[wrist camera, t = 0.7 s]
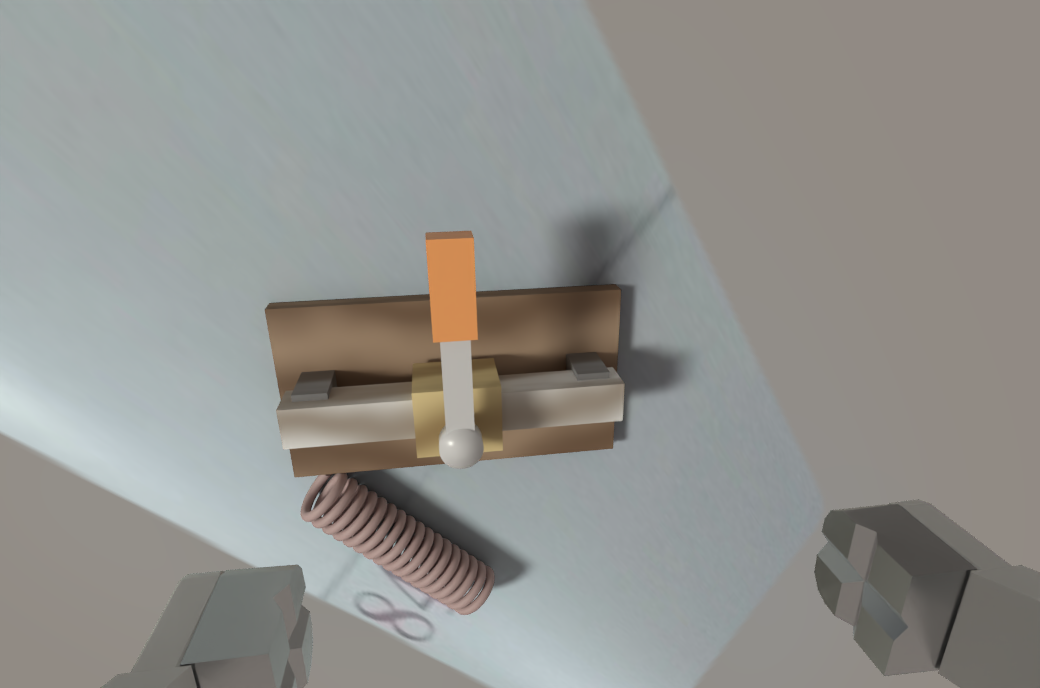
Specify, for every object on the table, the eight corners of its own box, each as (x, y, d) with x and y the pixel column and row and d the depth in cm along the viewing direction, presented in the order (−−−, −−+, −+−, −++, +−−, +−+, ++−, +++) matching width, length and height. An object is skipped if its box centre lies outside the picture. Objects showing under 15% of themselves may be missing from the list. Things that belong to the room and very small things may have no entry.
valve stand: (269, 303, 44) (232, 351, 36) (615, 284, 47) (657, 324, 39) (298, 466, 49) (271, 543, 41) (608, 439, 53) (643, 504, 44)
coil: (503, 592, 52) (330, 482, 46) (467, 630, 52) (290, 527, 46) (493, 558, 56) (334, 454, 50) (460, 594, 57) (298, 494, 50)
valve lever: (423, 232, 35) (423, 239, 33) (472, 230, 35) (475, 237, 33) (440, 456, 40) (440, 473, 38) (482, 452, 41) (484, 469, 39)
